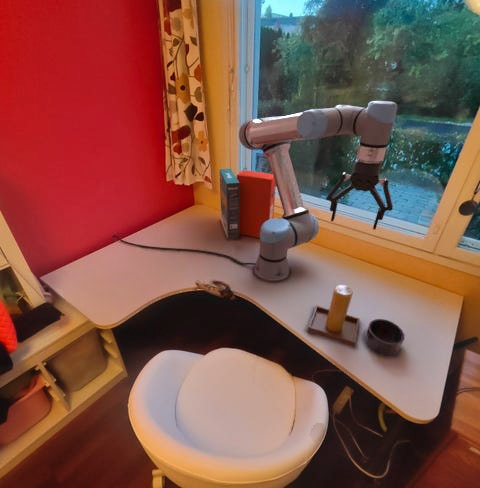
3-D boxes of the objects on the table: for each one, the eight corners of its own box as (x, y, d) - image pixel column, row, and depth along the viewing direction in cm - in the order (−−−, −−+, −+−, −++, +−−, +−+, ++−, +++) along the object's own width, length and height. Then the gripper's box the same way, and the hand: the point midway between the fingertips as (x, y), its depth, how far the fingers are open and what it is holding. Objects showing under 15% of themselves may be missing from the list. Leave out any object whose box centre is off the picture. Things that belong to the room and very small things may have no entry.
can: (324, 328, 98) (332, 292, 88) (327, 317, 102) (336, 282, 93) (340, 334, 96) (351, 298, 86) (343, 322, 100) (354, 287, 91)
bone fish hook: (242, 292, 114) (205, 278, 121) (242, 283, 112) (204, 269, 119) (230, 306, 107) (191, 290, 114) (230, 296, 105) (191, 280, 112)
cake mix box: (239, 238, 149) (239, 182, 132) (227, 239, 148) (226, 183, 131) (231, 220, 166) (230, 168, 150) (221, 220, 165) (219, 169, 149)
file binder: (267, 239, 148) (271, 179, 130) (236, 233, 153) (236, 174, 135) (272, 232, 154) (276, 174, 136) (242, 226, 159) (243, 169, 141)
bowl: (363, 348, 91) (367, 337, 88) (366, 326, 99) (370, 315, 96) (398, 361, 88) (404, 349, 85) (399, 336, 96) (404, 325, 93)
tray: (307, 331, 97) (308, 327, 96) (315, 309, 106) (316, 305, 105) (354, 347, 92) (355, 342, 91) (358, 322, 101) (359, 318, 99)
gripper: (324, 158, 87) (313, 220, 99) (416, 169, 78) (392, 236, 90) (329, 152, 92) (318, 212, 104) (415, 162, 83) (393, 226, 95)
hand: (353, 223), depth 97 cm, fingers open, 13 cm apart
